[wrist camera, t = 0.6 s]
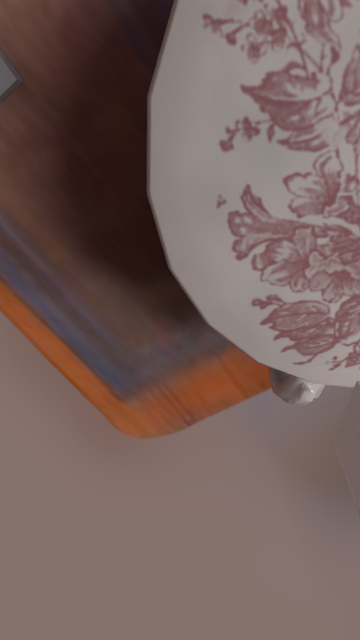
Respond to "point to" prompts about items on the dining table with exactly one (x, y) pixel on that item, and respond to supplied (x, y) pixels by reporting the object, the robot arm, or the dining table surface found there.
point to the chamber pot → (264, 180)
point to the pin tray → (7, 77)
